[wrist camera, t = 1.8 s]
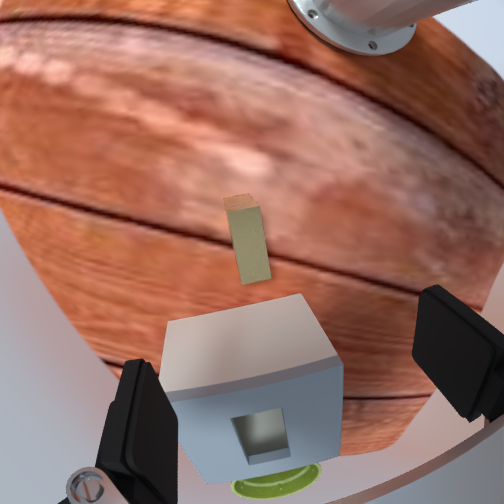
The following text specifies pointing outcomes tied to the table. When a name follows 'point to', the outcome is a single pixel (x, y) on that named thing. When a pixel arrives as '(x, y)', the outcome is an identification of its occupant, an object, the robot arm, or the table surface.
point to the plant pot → (277, 483)
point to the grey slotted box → (254, 389)
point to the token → (247, 238)
